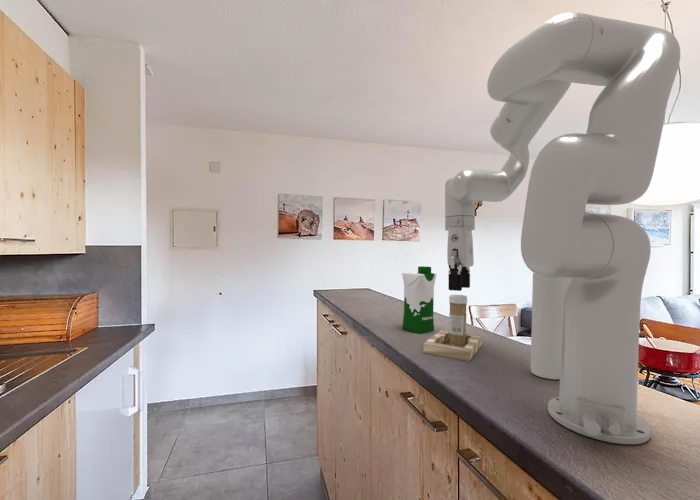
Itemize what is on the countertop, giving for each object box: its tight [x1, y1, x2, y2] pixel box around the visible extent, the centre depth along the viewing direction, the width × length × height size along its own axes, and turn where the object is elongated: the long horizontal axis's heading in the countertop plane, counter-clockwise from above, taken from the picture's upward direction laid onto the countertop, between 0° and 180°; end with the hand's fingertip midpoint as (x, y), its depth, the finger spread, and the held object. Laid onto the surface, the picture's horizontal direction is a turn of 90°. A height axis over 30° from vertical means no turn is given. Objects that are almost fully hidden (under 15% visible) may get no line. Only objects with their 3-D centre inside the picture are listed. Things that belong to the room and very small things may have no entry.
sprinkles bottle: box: [448, 294, 468, 347], centre depth 90 cm, size 5×5×14 cm
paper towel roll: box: [530, 272, 572, 380], centre depth 70 cm, size 7×6×21 cm
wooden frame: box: [422, 329, 483, 362], centre depth 88 cm, size 16×11×2 cm
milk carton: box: [401, 265, 437, 334], centre depth 106 cm, size 9×9×20 cm
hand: (459, 288), depth 89 cm, fingers open, 9 cm apart
